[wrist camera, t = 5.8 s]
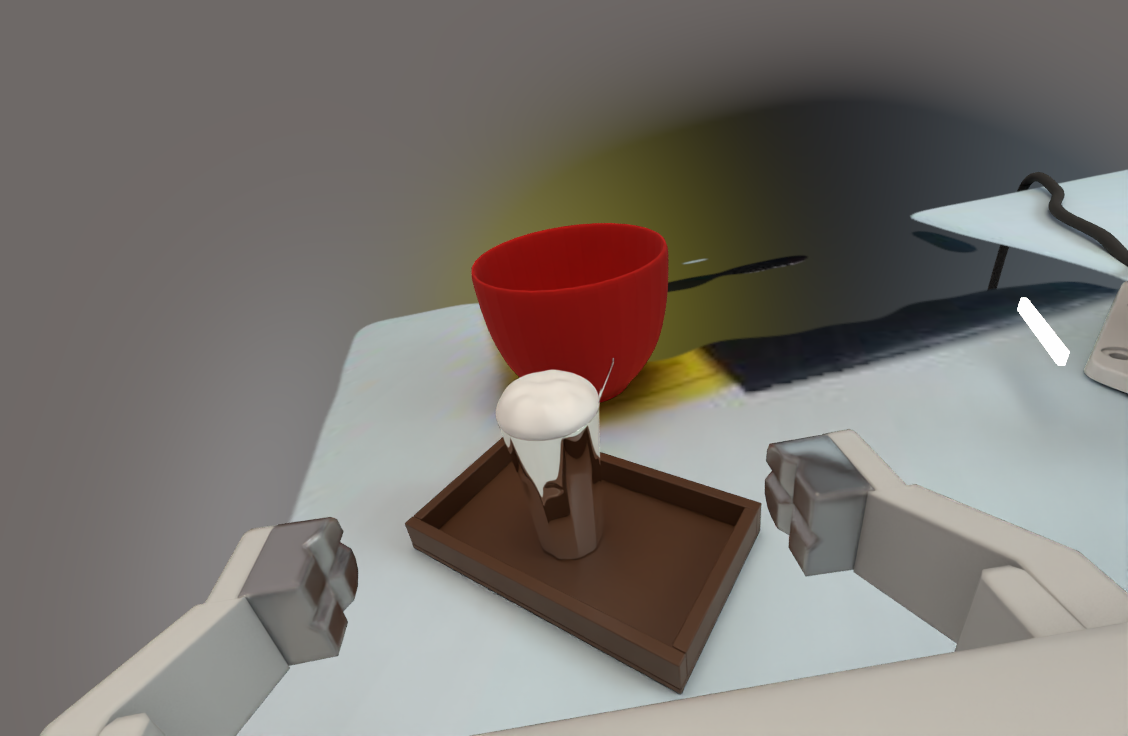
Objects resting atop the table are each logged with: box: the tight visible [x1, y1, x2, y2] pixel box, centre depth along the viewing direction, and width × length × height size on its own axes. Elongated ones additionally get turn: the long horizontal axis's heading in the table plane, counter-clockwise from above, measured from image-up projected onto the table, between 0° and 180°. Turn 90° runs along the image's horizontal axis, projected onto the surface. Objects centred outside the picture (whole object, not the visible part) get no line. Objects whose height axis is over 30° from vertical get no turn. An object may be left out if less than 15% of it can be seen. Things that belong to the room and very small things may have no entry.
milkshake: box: [496, 358, 614, 559], centre depth 25 cm, size 4×5×10 cm
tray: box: [405, 437, 761, 694], centre depth 28 cm, size 9×15×2 cm, turn 55°
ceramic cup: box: [472, 223, 668, 403], centre depth 40 cm, size 13×17×10 cm
